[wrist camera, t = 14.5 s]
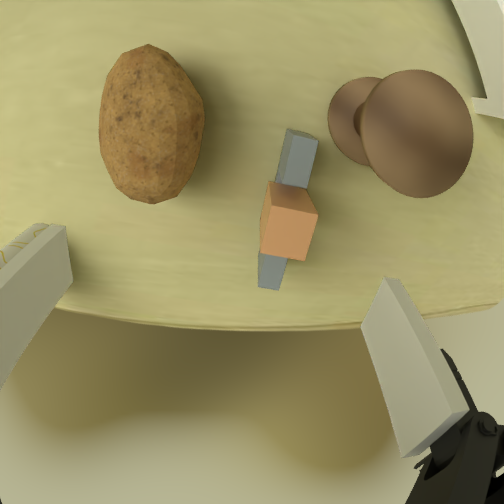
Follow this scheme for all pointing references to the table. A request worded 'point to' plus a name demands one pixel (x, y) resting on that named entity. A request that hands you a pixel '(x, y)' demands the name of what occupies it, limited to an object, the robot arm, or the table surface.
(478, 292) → the table surface
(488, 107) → the paper towel holder
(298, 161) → the gray board
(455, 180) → the bobbin
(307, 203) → the orange brown tapered block
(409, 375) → the robot arm
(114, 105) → the potato
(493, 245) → the table surface
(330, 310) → the table surface
